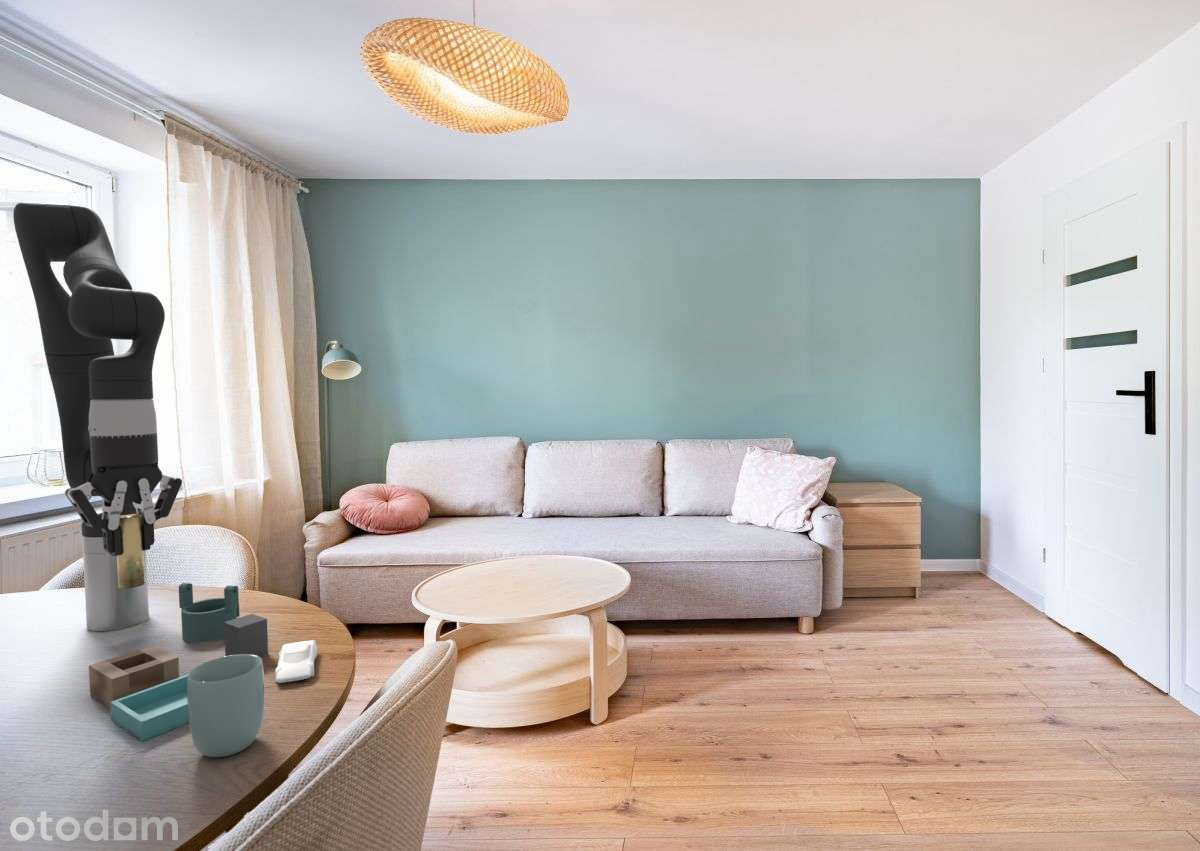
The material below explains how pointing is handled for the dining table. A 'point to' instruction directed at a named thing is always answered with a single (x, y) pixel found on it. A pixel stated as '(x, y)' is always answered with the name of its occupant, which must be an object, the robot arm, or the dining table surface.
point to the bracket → (206, 614)
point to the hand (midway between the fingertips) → (130, 551)
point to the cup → (225, 704)
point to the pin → (131, 552)
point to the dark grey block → (246, 636)
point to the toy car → (296, 661)
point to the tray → (153, 709)
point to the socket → (131, 673)
